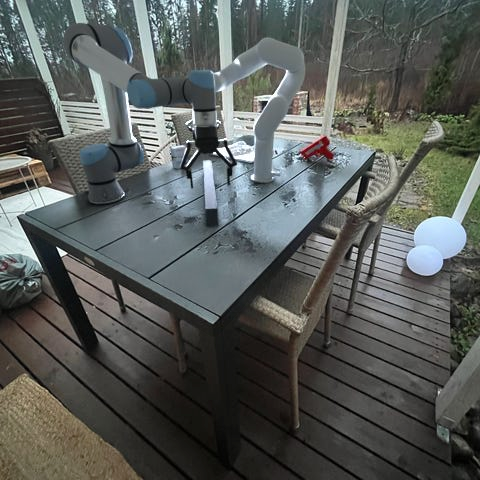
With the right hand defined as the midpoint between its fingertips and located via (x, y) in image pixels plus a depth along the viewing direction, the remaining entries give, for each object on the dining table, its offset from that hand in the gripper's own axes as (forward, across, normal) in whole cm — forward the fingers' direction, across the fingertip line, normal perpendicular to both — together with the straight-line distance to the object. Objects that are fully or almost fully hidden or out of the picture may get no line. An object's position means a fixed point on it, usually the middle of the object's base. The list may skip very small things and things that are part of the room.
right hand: (204, 140), depth 140 cm
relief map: (+20, +25, +42) cm, 53 cm away
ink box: (+19, -16, +20) cm, 32 cm away
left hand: (+6, 0, -50) cm, 50 cm away
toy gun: (+20, +71, +21) cm, 77 cm away
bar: (+19, 0, -25) cm, 32 cm away
